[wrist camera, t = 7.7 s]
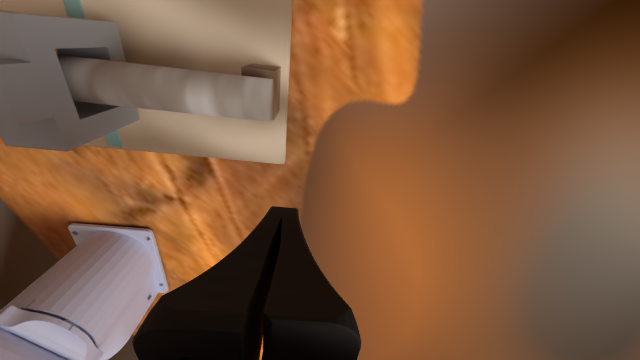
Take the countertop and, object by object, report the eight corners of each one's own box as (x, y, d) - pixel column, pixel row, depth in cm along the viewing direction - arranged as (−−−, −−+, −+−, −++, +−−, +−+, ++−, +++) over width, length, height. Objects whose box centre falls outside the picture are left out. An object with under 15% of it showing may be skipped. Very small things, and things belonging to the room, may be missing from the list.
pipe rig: (285, 159, 22) (274, 198, 17) (56, 137, 21) (-37, 171, 15) (292, -10, 16) (280, -35, 11) (-23, -52, 15) (-216, -105, 10)
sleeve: (139, 119, 18) (37, 164, 12) (96, 115, 18) (-33, 158, 11) (116, 22, 15) (-38, 8, 9) (64, 16, 15) (-133, -3, 8)
